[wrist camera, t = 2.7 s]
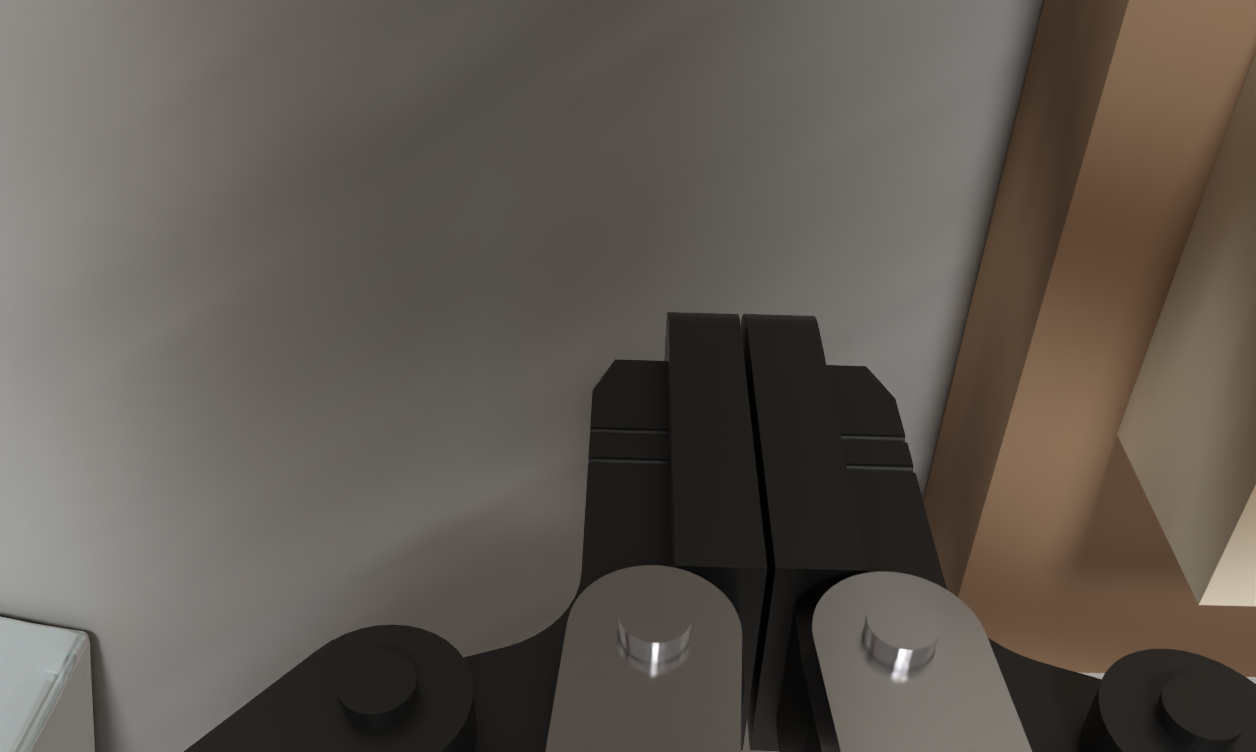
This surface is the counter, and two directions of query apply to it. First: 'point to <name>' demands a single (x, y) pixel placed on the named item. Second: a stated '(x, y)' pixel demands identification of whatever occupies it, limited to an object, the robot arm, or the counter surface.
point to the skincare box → (45, 689)
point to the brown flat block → (1085, 338)
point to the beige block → (1207, 384)
